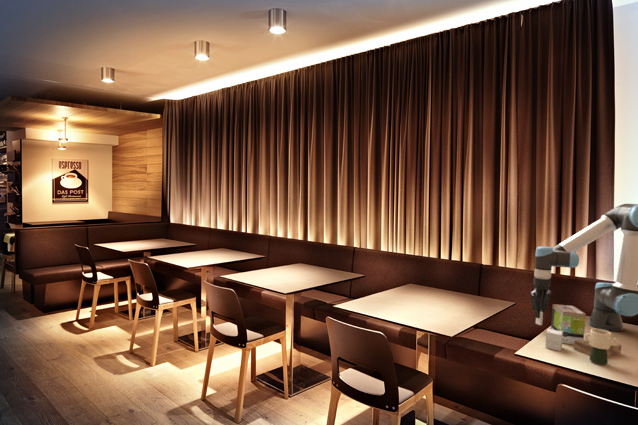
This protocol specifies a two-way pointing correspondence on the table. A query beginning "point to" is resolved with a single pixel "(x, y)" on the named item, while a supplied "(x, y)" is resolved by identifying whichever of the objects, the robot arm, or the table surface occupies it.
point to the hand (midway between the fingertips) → (538, 324)
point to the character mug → (599, 345)
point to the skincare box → (554, 339)
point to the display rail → (587, 348)
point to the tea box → (568, 322)
